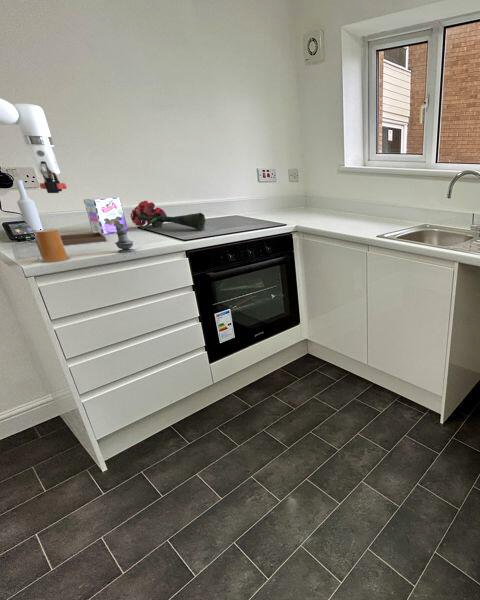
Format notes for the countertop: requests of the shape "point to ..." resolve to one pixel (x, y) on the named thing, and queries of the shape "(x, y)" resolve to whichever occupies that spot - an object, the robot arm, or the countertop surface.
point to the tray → (82, 238)
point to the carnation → (163, 217)
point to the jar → (50, 245)
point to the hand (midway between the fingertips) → (55, 191)
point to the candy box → (105, 214)
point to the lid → (59, 185)
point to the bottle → (28, 208)
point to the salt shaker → (123, 239)
